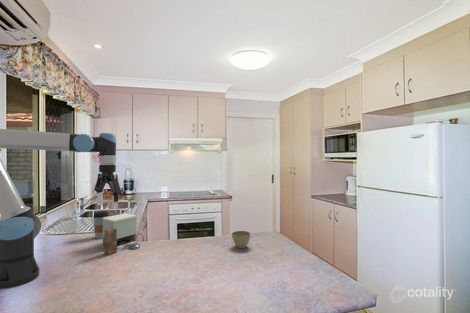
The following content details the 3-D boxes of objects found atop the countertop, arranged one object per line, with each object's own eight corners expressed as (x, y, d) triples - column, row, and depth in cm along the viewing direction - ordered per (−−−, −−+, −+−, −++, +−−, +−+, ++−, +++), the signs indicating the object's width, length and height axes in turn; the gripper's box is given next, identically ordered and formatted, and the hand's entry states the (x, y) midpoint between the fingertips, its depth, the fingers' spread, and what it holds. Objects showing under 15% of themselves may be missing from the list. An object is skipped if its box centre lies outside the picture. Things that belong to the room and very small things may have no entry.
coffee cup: (104, 239, 153) (104, 213, 153) (90, 239, 153) (90, 213, 153) (111, 235, 161) (111, 210, 161) (98, 235, 161) (98, 210, 161)
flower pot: (250, 243, 145) (250, 230, 145) (250, 250, 135) (250, 236, 135) (232, 243, 146) (232, 230, 146) (230, 249, 136) (230, 235, 136)
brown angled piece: (109, 255, 128) (109, 230, 128) (104, 253, 131) (104, 229, 131) (138, 245, 143) (138, 223, 143) (134, 244, 145) (134, 222, 145)
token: (133, 250, 136) (133, 247, 136) (127, 248, 138) (127, 245, 138) (141, 247, 140) (141, 245, 140) (135, 246, 143) (135, 243, 143)
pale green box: (113, 248, 138) (113, 220, 137) (102, 245, 143) (102, 217, 143) (136, 241, 149) (136, 215, 149) (125, 238, 155) (125, 213, 155)
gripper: (129, 164, 127) (128, 208, 127) (101, 163, 141) (101, 203, 141) (114, 165, 121) (114, 211, 121) (87, 163, 135) (86, 205, 135)
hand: (107, 206), depth 131 cm, fingers open, 13 cm apart
